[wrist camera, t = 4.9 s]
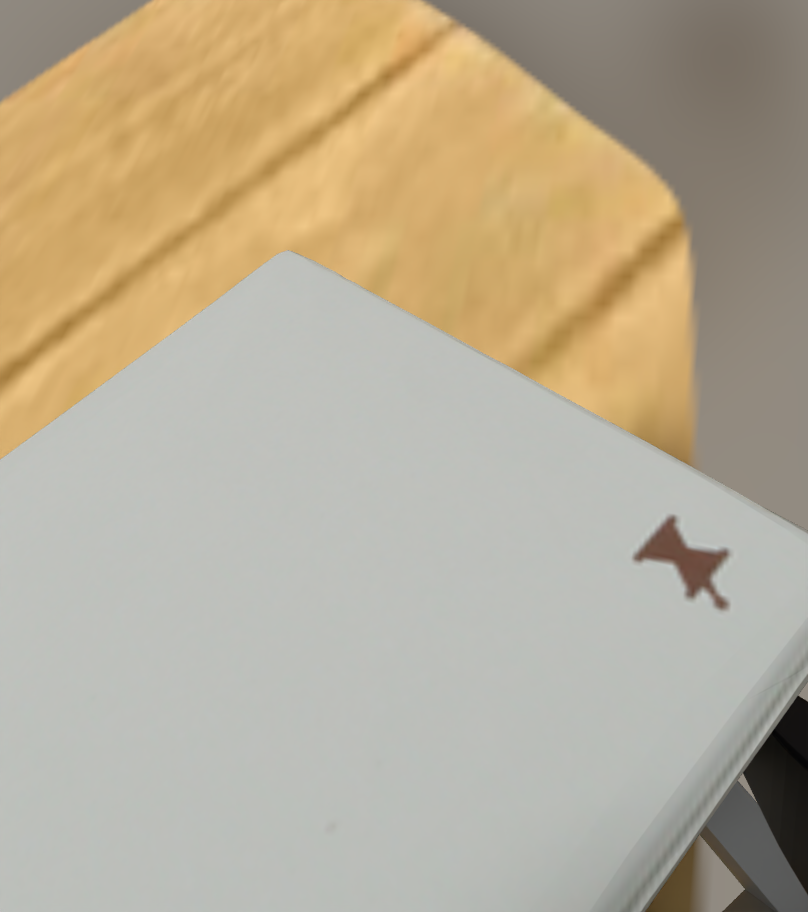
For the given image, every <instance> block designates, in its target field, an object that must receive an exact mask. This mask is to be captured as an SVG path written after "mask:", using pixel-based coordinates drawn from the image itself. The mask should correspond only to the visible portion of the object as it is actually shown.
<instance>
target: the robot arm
mask: <svg viewBox="0 0 808 912" xmlns="http://www.w3.org/2000/svg"><path fill="white" fill-rule="evenodd" d="M743 774H744V776H745V778H746V780H747V782H748V784H749V786H750V788H751V790H752V792H753V794H754V796H755V799H756V801H757V803H758V805H759V807H760V809H761V811H762V813H763V815H764V817H765V819H766V822H767V824H768V826H769V828H770V830H771V832H772V834H773V836H774V838H775V840H776V842H777V844H778V846H779V847H780V849H781V851H782V853H783V854H784V856H785V858H786V860H787V861H788V863H789V865H790V867H791V868H792V870H793V872H794V873H795V875H796V877H797V878H798V880H799V882H800V883H801V885H802V887H803V888H804V890H805V892H806V893H807V895H808V702H807V701H806V700H804V699H803V698H801V697H799V696H797V697H796V699H795V700H794V702H793V703H792V704H791V706H790V707H789V709H788V710H787V712H786V713H785V714H784V716H783V717H782V719H781V720H780V721H779V723H778V724H777V726H776V727H775V728H774V730H773V731H772V733H771V734H770V735H769V737H768V738H767V740H766V741H765V742H764V744H763V745H762V747H761V748H760V749H759V751H758V752H757V754H756V755H755V756H754V758H753V759H752V761H751V762H750V763H749V765H748V766H747V768H746V769H745V771H744V772H743Z"/></svg>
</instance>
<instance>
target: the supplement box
mask: <svg viewBox="0 0 808 912" xmlns="http://www.w3.org/2000/svg"><path fill="white" fill-rule="evenodd" d="M807 682H808V530H806V529H804V528H802V527H800V526H798V525H797V524H795V523H793V522H791V521H789V520H787V519H785V518H783V517H781V516H779V515H777V514H775V513H774V512H772V511H770V510H768V509H766V508H764V507H762V506H760V505H758V504H756V503H755V502H753V501H751V500H750V499H748V498H746V497H745V496H743V495H741V494H740V493H738V492H736V491H734V490H732V489H731V488H729V487H727V486H725V485H723V484H722V483H720V482H718V481H716V480H714V479H713V478H710V477H709V476H707V475H705V474H704V473H702V472H700V471H698V470H696V469H695V468H693V467H691V466H689V465H687V464H686V463H684V462H682V461H680V460H678V459H677V458H675V457H673V456H671V455H669V454H667V453H666V452H664V451H662V450H660V449H658V448H657V447H655V446H653V445H651V444H649V443H648V442H646V441H644V440H642V439H640V438H638V437H637V436H635V435H633V434H631V433H629V432H627V431H625V430H624V429H622V428H620V427H618V426H616V425H614V424H613V423H611V422H609V421H607V420H605V419H603V418H602V417H600V416H598V415H596V414H594V413H592V412H590V411H589V410H587V409H585V408H583V407H581V406H579V405H577V404H576V403H574V402H572V401H570V400H568V399H566V398H565V397H563V396H561V395H559V394H557V393H555V392H553V391H552V390H550V389H548V388H546V387H544V386H543V385H541V384H539V383H537V382H536V381H534V380H532V379H530V378H528V377H527V376H525V375H523V374H521V373H520V372H518V371H516V370H514V369H512V368H510V367H508V366H507V365H505V364H503V363H501V362H499V361H497V360H495V359H493V358H491V357H489V356H487V355H486V354H484V353H482V352H480V351H478V350H476V349H475V348H473V347H471V346H469V345H467V344H466V343H464V342H462V341H460V340H458V339H457V338H455V337H453V336H451V335H449V334H448V333H446V332H444V331H442V330H440V329H438V328H437V327H435V326H433V325H431V324H429V323H427V322H426V321H424V320H422V319H420V318H418V317H416V316H414V315H413V314H411V313H409V312H407V311H405V310H403V309H401V308H400V307H398V306H396V305H394V304H392V303H390V302H388V301H387V300H385V299H383V298H381V297H379V296H377V295H375V294H374V293H372V292H370V291H368V290H366V289H364V288H363V287H361V286H359V285H358V284H356V283H354V282H352V281H350V280H348V279H346V278H344V277H342V276H341V275H339V274H338V273H336V272H334V271H332V270H330V269H328V268H326V267H324V266H322V265H321V264H319V263H317V262H315V261H313V260H311V259H308V258H306V257H304V256H302V255H299V254H297V253H295V252H292V251H289V250H287V251H284V252H281V253H279V254H277V255H275V256H274V257H273V258H272V259H270V260H269V261H267V262H266V263H264V264H263V265H262V266H260V267H259V268H258V269H256V270H255V271H254V272H252V273H251V274H250V275H248V276H247V277H246V278H244V279H243V280H242V281H241V282H239V283H238V284H237V285H235V286H234V287H233V288H231V289H230V290H229V291H228V292H226V293H225V294H224V295H222V296H221V297H220V298H219V299H217V300H216V301H215V302H213V303H212V304H211V305H209V306H208V307H206V308H205V309H204V310H202V311H201V312H200V313H198V314H197V315H196V316H194V317H193V318H192V319H190V320H189V321H188V322H186V323H185V324H184V325H182V326H181V327H180V328H178V329H177V330H176V331H174V332H173V333H172V334H170V335H169V336H168V337H166V338H165V339H163V340H162V341H161V342H159V343H158V344H157V345H155V346H154V347H153V348H151V349H150V350H149V351H147V352H146V353H144V354H143V355H142V356H140V357H139V358H138V359H136V360H135V361H134V362H132V363H131V364H130V365H128V366H127V367H126V368H124V369H123V370H121V371H120V372H119V373H117V374H116V375H115V376H113V377H112V378H111V379H109V380H108V381H107V382H105V383H104V384H102V385H101V386H100V387H98V388H97V389H96V390H94V391H93V392H92V393H90V394H89V395H88V396H86V397H85V398H83V399H82V400H81V401H79V402H78V403H77V404H75V405H74V406H73V407H71V408H70V409H69V410H67V411H66V412H64V413H63V414H62V415H60V416H59V417H58V418H56V419H55V420H54V421H52V422H51V423H49V424H48V425H47V426H45V427H44V428H43V429H41V430H40V431H39V432H37V433H36V434H34V435H33V436H32V437H30V438H29V439H28V440H26V441H25V442H24V443H22V444H21V445H19V446H18V447H17V448H15V449H14V450H13V451H11V452H10V453H9V454H7V455H6V456H4V457H3V458H2V459H0V912H645V911H646V910H647V908H648V907H649V905H650V904H651V903H652V901H653V900H654V898H655V897H656V895H657V894H658V893H659V891H660V890H661V888H662V887H663V885H664V884H665V883H666V881H667V880H668V878H669V877H670V876H671V874H672V873H673V871H674V870H675V868H676V867H677V866H678V864H679V863H680V861H681V860H682V858H683V857H684V856H685V854H686V853H687V851H688V850H689V848H690V847H691V846H692V844H693V843H694V841H695V840H696V839H697V837H698V836H699V834H700V833H701V831H702V830H703V829H704V827H705V826H706V824H707V823H708V821H709V820H710V819H711V817H712V816H713V814H714V813H715V811H716V810H717V809H718V807H719V806H720V804H721V803H722V802H723V800H724V799H725V797H726V796H727V794H728V793H729V792H730V790H731V789H732V787H733V786H734V785H735V783H736V782H737V780H738V779H739V778H740V776H741V775H742V773H743V772H744V771H745V769H746V768H747V766H748V765H749V763H750V762H751V761H752V759H753V758H754V756H755V755H756V754H757V752H758V751H759V749H760V748H761V747H762V745H763V744H764V742H765V741H766V740H767V738H768V737H769V735H770V734H771V733H772V731H773V730H774V728H775V727H776V726H777V724H778V723H779V721H780V720H781V719H782V717H783V716H784V714H785V713H786V712H787V710H788V709H789V707H790V706H791V704H792V703H793V702H794V700H795V699H796V697H797V696H798V695H799V693H800V692H801V690H802V689H803V688H804V686H805V685H806V683H807Z"/></svg>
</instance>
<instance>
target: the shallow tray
mask: <svg viewBox="0 0 808 912" xmlns="http://www.w3.org/2000/svg"><path fill="white" fill-rule="evenodd" d="M700 835H701V837H702V838H703V839H704V840H705V841H706V843H707V844H708V845H709V846H710V847H711V849H712V850H713V851H714V852H715V853H716V855H717V856H718V857H719V858H720V859H721V861H722V862H723V863H724V864H725V865H726V866H727V868H728V869H729V870H730V871H731V872H732V874H733V875H734V876H735V877H736V879H737V880H738V881H739V882H740V883H741V885H742V886H743V887H744V888H745V890H744V891H743V892H742V893H741V894H740V895H739V896H738V897H737V898H736V899H735V900H734V901H733V902H732V903H731V904H730V905H729V906H728V907H727V908H726V909H725V910H724V911H723V912H808V895H807V893H806V892H805V890H804V888H803V887H802V885H801V883H800V882H799V880H798V878H797V877H796V875H795V873H794V872H793V870H792V868H791V867H790V865H789V863H788V861H787V860H786V858H785V856H784V854H783V853H782V851H781V849H780V847H779V846H778V844H777V842H776V840H775V838H774V836H773V834H772V832H771V830H770V828H769V826H768V824H767V822H766V819H765V817H764V815H763V813H762V811H761V809H760V807H759V805H758V803H757V802H756V801H755V800H754V799H753V798H752V796H751V795H750V794H749V793H748V792H747V791H746V790H745V789H744V787H743V786H742V785H741V784H740V783H739V782H738V781H737V782H736V783H735V785H734V786H733V787H732V789H731V790H730V792H729V793H728V794H727V796H726V797H725V799H724V800H723V802H722V803H721V804H720V806H719V807H718V809H717V810H716V811H715V813H714V814H713V816H712V817H711V819H710V820H709V821H708V823H707V824H706V826H705V827H704V829H703V830H702V831H701V833H700Z"/></svg>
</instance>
